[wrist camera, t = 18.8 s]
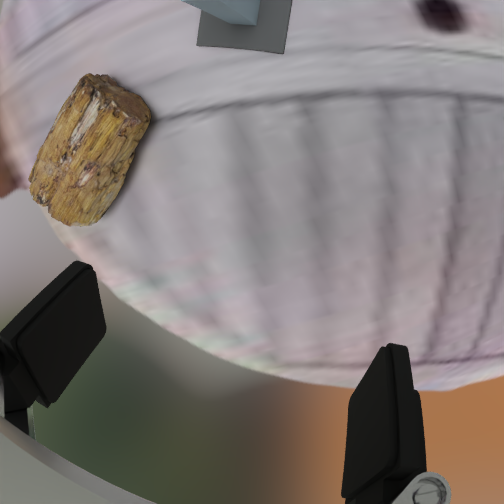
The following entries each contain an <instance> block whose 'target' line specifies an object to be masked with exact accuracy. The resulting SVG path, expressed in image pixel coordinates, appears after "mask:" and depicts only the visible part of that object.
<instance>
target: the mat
mask: <svg viewBox="0 0 504 504" xmlns="http://www.w3.org/2000/svg"><path fill="white" fill-rule="evenodd" d="M291 5H292V0H260V6H259V12H258V18H257V25H256V26H255V25H242V24H230V23H228V22H226V21H224V20H222V19H220V18H218V17H216V16H214V15H212V14H210V13H207V12H205V11H203V10H201V17H200V24H199V31H198V38H197V45H196V46H212V47H228V48H239V49H250V50H259V51H267V52H274V53H281V54H284V48H285V42H286V36H287V30H288V23H289V17H290V11H291Z"/></svg>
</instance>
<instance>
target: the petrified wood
mask: <svg viewBox="0 0 504 504" xmlns="http://www.w3.org/2000/svg"><path fill="white" fill-rule="evenodd" d="M150 119H151V114H150V110H149V109H148V108H147V105H146V104H145V102H144V101H143V100H142V98H141V97H140V96H138V95H136V94H134V93H129V91H128V90H126V89H125V88H122V87H118V86H117V83H116V82H115V81H114V80H112V79H111V78H110V77H109V76H108V75H101V76H100V75H98V74H96V75H95V76H94V75H93V74H90V73H89V74H86V75H85V76H83V77H82V78H81V79H80V80H79V82H78V84H77V85H76V87H75V88H74V90H73V92H72V93H71V95H70V96H69V97H68V99H67V100H66V101H65V103H64V104H63V106H62V108H61V110H60V111H59V114H58V116H57V118H56V120H55V122H54V125H53V126H52V128H51V130H50V132H49V133H48V136H47V138H46V140H45V142H44V144H43V145H42V146H41V148H40V150H39V152H38V155H37V160H36V162H35V164H34V166H33V168H32V171H31V174H30V176H29V181H30V182H31V185H30V187H29V189H30V193H31V195H32V196H33V200H35V201H36V202H37V203H38V204H40V205H42V206H43V207H44V206H48V213H50V214H51V217H52V218H55V219H56V220H58V221H61V222H62V223H63V224H65V225H68V226H80V227H81V226H90V225H92V224H94V223H97V222H98V220H99V219H101V217H103V215H104V214H105V212H106V211H107V209H108V208H109V206H110V205H111V203H112V202H113V200H114V199H115V198H116V196H117V194H118V192H119V190H120V188H121V187H122V185H123V184H124V179H125V177H126V175H125V174H126V172H127V171H128V169H129V167H130V164H131V162H132V160H133V158H134V155H135V153H134V152H135V150H134V149H135V148H136V146H137V145H138V143H139V141H140V139H141V138H142V136H143V135H144V133H145V131H146V129H147V127H148V125H149V123H150Z"/></svg>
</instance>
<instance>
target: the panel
mask: <svg viewBox="0 0 504 504" xmlns="http://www.w3.org/2000/svg"><path fill="white" fill-rule="evenodd" d="M181 1H183V2H186V3H188V4H190V5H192V6H195V7H197V8H199V9H201V10H203V11H205V12H207V13H210V14H212V15H214V16H216V17H218V18H220V19H222V20H224V21H226V22H228V23H230V24H242V25H255V26H256V25H257V18H258V12H259V6H260V0H181Z"/></svg>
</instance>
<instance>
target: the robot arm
mask: <svg viewBox="0 0 504 504" xmlns="http://www.w3.org/2000/svg"><path fill="white" fill-rule="evenodd" d="M105 333H106V323H105V319H104V314H103V309H102V304H101V299H100V294H99V288H98V283H97V277H96V272H95V271H94V270H93V267H92V266H91V265H89V264H87V263H84V262H81V261H74V262H73V263H72V264H71V265H70V266H68V267H67V268H66V269H65V270H64V271H63V272H62V273H61V274H59V275H58V276H57V277H56V278H55V279H54V280H53V281H52V282H51V283H50V284H49V285H47V286H46V287H45V288H44V289H43V290H42V291H41V292H40V293H39V294H38V295H37V296H36V297H35V298H34V299H33V300H32V301H31V302H30V303H29V304H28V305H27V306H26V307H24V308H23V310H21V311H20V312H19V313H18V315H17V316H15V317H14V319H13V320H12V321H11V322H10V323H9V324H8V325H7V326H6V327H5V328H4V329H3V330H2V331H1V332H0V504H156V503H154V502H151V501H149V500H146V499H143V498H141V497H139V496H137V495H134V494H132V493H129V492H127V491H125V490H123V489H120V488H118V487H116V486H114V485H112V484H110V483H108V482H106V481H104V480H102V479H100V478H98V477H96V476H94V475H92V474H90V473H88V472H87V471H85V470H83V469H81V468H79V467H78V466H76V465H74V464H72V463H71V462H69V461H67V460H65V459H64V458H62V457H60V456H59V455H57V454H56V453H54V452H52V451H51V450H49V449H48V448H46V447H44V446H43V445H41V444H40V443H38V442H37V441H36V439H35V432H34V421H33V410H32V404H33V403H34V401H35V400H36V401H37V402H38V403H40V404H42V405H43V406H45V407H46V408H48V407H49V406H50V404H51V403H54V402H56V401H57V400H58V398H59V397H60V395H61V394H62V393H63V391H64V390H65V388H66V387H67V385H68V384H69V383H70V381H71V380H72V379H73V377H74V376H75V374H76V373H77V372H78V370H79V369H80V368H81V366H82V365H83V364H84V362H85V361H86V359H87V358H88V357H89V355H90V354H91V353H92V351H93V350H94V349H95V347H96V346H97V345H98V344H99V342H100V341H101V340H102V338H103V337H104V335H105ZM341 496H342V498H346V500H345V504H449V503H450V500H451V489H450V486H449V484H448V482H447V481H446V480H445V478H444V477H443V476H441V475H439V474H438V473H434V472H427V468H426V451H425V438H424V427H423V417H422V408H421V400H420V395H419V393H418V391H417V390H414V386H413V379H412V372H411V365H410V358H409V352H408V348H407V347H406V346H403V345H398V344H393V343H389V344H387V346H386V347H381V348H380V349H379V351H378V353H377V355H376V356H375V358H374V360H373V361H372V363H371V365H370V367H369V368H368V370H367V371H366V373H365V375H364V376H363V378H362V380H361V381H360V383H359V384H358V386H357V388H356V389H355V391H354V392H353V394H352V396H351V398H350V401H349V406H348V423H347V437H346V451H345V462H344V472H343V481H342V490H341Z"/></svg>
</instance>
